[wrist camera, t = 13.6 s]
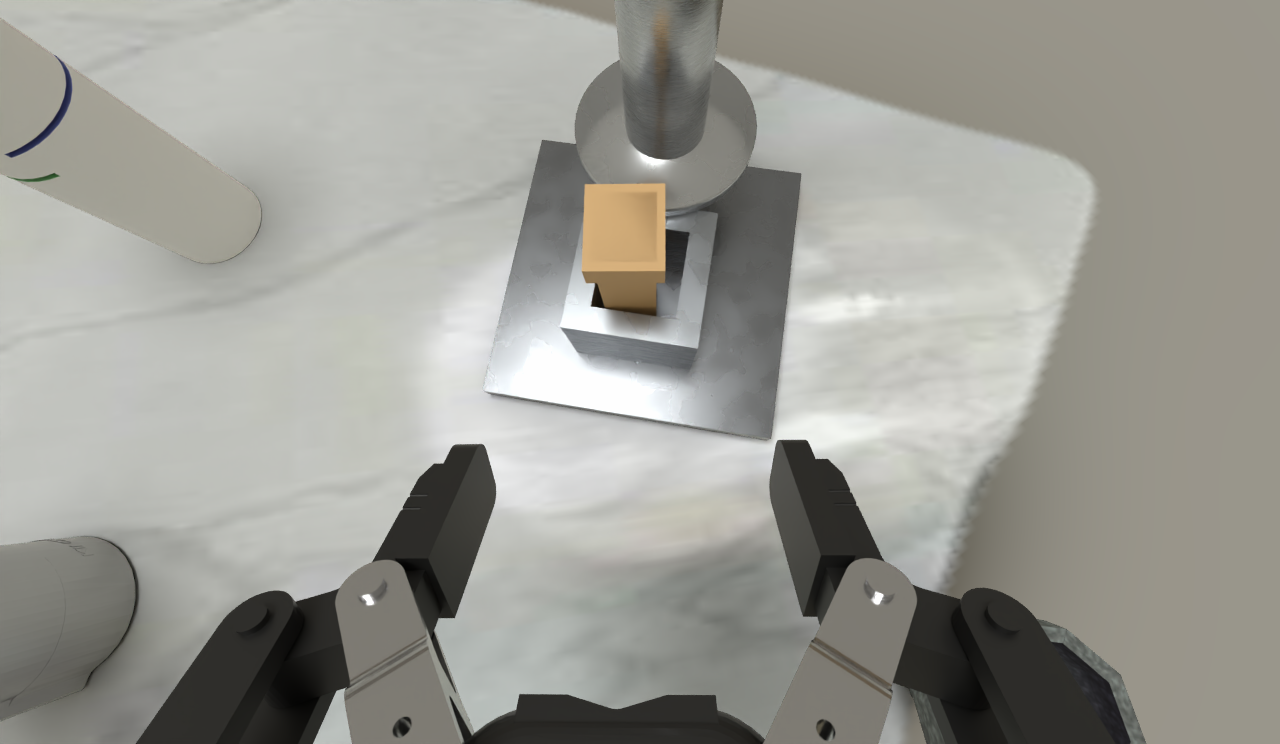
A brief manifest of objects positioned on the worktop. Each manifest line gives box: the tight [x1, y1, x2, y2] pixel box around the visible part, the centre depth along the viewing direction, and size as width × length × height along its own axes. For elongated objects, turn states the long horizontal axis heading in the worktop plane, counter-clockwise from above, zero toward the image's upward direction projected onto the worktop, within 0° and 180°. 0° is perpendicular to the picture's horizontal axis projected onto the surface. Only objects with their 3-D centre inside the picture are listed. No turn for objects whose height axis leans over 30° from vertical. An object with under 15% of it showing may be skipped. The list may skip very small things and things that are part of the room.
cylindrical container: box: [0, 18, 261, 264], centre depth 25 cm, size 7×7×25 cm
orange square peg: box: [582, 183, 665, 316], centre depth 28 cm, size 4×4×12 cm
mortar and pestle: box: [909, 619, 1146, 744], centre depth 24 cm, size 11×9×12 cm
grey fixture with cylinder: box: [482, 0, 801, 440], centre depth 21 cm, size 22×20×30 cm
